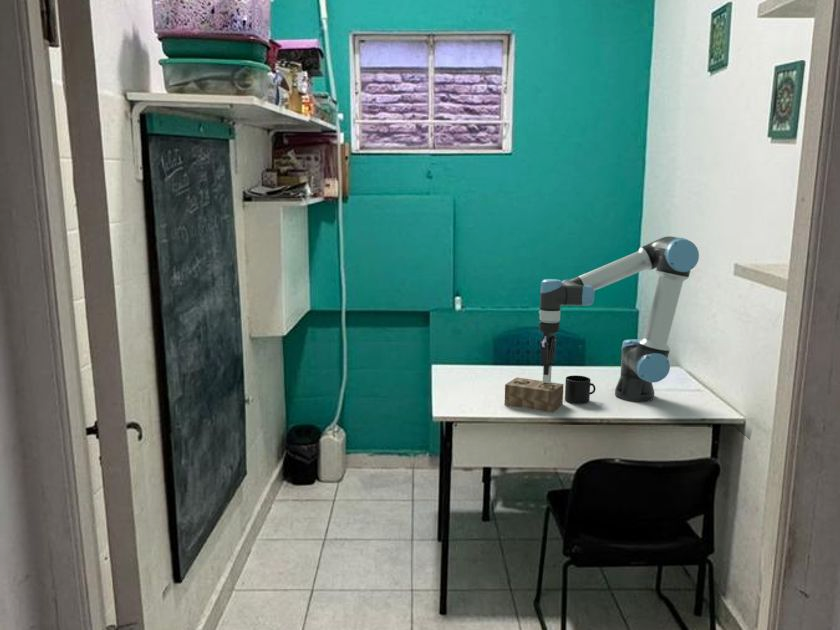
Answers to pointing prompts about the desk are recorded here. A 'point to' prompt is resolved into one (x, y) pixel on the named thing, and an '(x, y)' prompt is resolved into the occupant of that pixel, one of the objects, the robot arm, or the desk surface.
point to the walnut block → (533, 395)
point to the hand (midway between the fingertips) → (546, 382)
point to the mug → (578, 389)
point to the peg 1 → (522, 382)
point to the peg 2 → (547, 385)
